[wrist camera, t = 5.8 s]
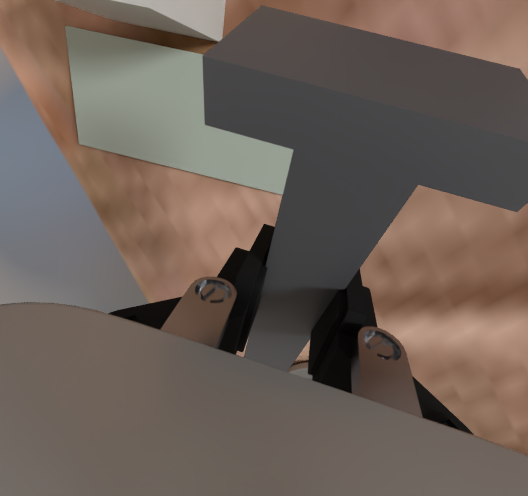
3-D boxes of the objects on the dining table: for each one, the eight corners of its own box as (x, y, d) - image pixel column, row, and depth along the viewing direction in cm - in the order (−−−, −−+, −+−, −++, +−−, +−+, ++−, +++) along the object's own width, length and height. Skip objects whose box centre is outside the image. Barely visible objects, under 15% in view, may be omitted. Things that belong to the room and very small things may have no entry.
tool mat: (288, 194, 26) (288, 196, 25) (83, 143, 28) (79, 143, 27) (316, 79, 22) (316, 78, 21) (70, 26, 23) (64, 25, 23)
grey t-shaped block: (323, 330, 18) (313, 388, 16) (232, 301, 19) (212, 354, 17) (519, 69, 6) (581, 155, 4) (261, 5, 7) (202, 55, 5)
